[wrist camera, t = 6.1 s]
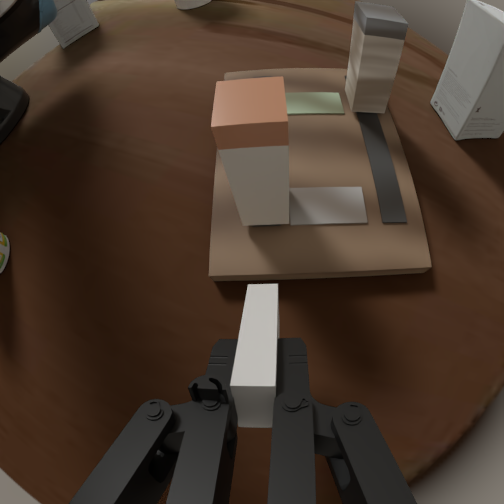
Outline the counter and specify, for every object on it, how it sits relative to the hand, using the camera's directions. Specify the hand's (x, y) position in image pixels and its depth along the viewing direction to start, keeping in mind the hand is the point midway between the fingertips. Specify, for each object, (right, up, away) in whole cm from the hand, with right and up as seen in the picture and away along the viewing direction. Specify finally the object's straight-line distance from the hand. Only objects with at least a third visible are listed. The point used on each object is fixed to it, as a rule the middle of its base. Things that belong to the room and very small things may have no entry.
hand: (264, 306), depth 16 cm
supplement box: (-39, +51, +29) cm, 71 cm away
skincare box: (+24, +18, +10) cm, 31 cm away
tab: (0, +6, +6) cm, 9 cm away
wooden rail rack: (+5, +11, +9) cm, 15 cm away
